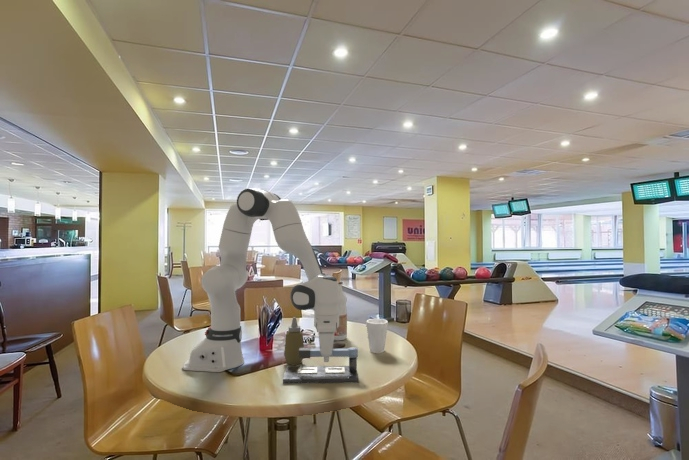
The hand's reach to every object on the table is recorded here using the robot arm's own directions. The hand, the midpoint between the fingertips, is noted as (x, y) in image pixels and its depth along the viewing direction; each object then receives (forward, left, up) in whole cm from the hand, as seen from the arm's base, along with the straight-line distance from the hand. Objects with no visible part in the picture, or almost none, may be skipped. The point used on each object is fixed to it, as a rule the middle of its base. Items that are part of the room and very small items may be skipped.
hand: (326, 360), depth 127 cm
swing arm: (+1, +5, 0) cm, 5 cm away
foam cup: (+22, +32, -7) cm, 39 cm away
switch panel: (-2, +4, -7) cm, 8 cm away
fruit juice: (+5, +52, -7) cm, 52 cm away
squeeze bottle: (-13, +18, -7) cm, 23 cm away
